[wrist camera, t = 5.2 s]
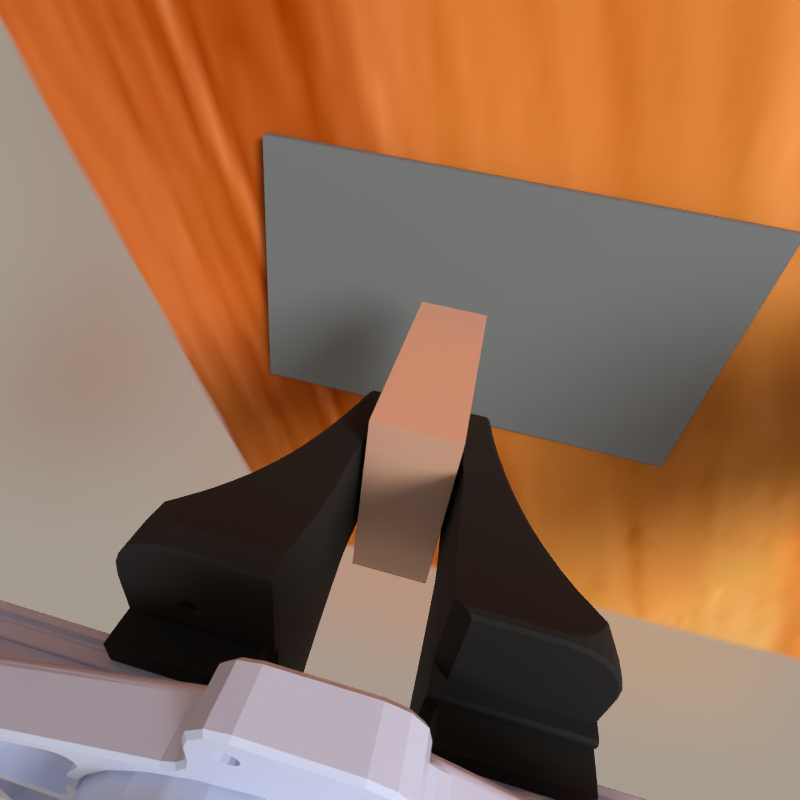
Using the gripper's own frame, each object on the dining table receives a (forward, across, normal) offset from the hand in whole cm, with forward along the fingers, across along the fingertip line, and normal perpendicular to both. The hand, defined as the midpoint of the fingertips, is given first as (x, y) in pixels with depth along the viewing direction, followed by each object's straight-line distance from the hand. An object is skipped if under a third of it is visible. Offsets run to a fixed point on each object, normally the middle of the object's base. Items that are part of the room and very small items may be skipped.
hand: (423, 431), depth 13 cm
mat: (+8, -1, 0) cm, 8 cm away
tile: (+3, 0, 0) cm, 3 cm away
